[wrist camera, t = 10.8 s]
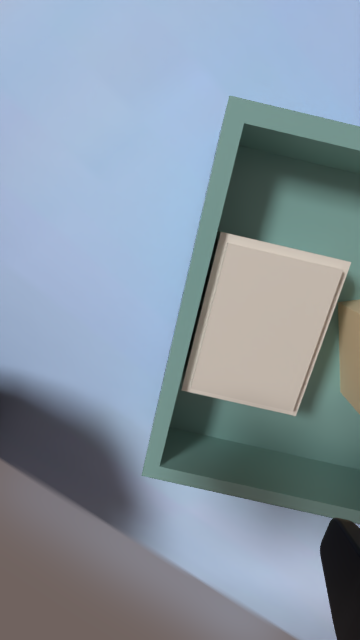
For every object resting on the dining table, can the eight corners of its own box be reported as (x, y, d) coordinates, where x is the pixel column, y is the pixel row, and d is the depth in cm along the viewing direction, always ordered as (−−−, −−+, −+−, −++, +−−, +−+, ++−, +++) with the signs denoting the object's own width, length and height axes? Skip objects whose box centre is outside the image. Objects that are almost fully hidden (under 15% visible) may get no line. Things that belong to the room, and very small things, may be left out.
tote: (152, 427, 22) (141, 475, 18) (221, 127, 18) (229, 95, 13) (388, 479, 23) (433, 540, 18) (521, 198, 18) (626, 190, 13)
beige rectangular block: (183, 366, 20) (181, 393, 17) (217, 230, 18) (221, 231, 15) (281, 388, 20) (297, 420, 17) (326, 256, 18) (355, 263, 15)
